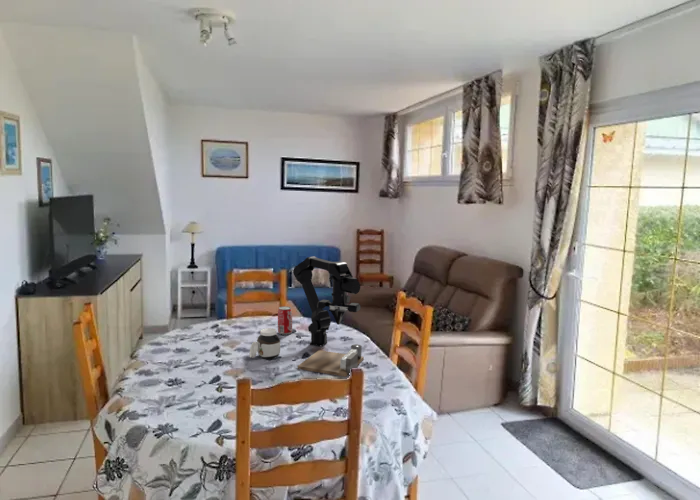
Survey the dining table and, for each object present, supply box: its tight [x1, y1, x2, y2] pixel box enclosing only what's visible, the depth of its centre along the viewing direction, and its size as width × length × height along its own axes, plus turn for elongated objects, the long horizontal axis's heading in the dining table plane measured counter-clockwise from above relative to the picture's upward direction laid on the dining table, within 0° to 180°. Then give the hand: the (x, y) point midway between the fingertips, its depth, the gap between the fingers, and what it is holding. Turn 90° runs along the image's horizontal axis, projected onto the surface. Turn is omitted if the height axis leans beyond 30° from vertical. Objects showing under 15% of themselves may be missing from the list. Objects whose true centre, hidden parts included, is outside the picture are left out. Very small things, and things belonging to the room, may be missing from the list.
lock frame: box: [297, 349, 364, 378], centre depth 206 cm, size 22×21×7 cm
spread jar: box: [249, 327, 281, 360], centre depth 213 cm, size 12×11×12 cm
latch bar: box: [340, 343, 362, 370], centre depth 205 cm, size 18×4×5 cm, turn 160°
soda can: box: [277, 305, 293, 336], centre depth 247 cm, size 7×7×13 cm
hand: (338, 324), depth 223 cm, fingers closed
